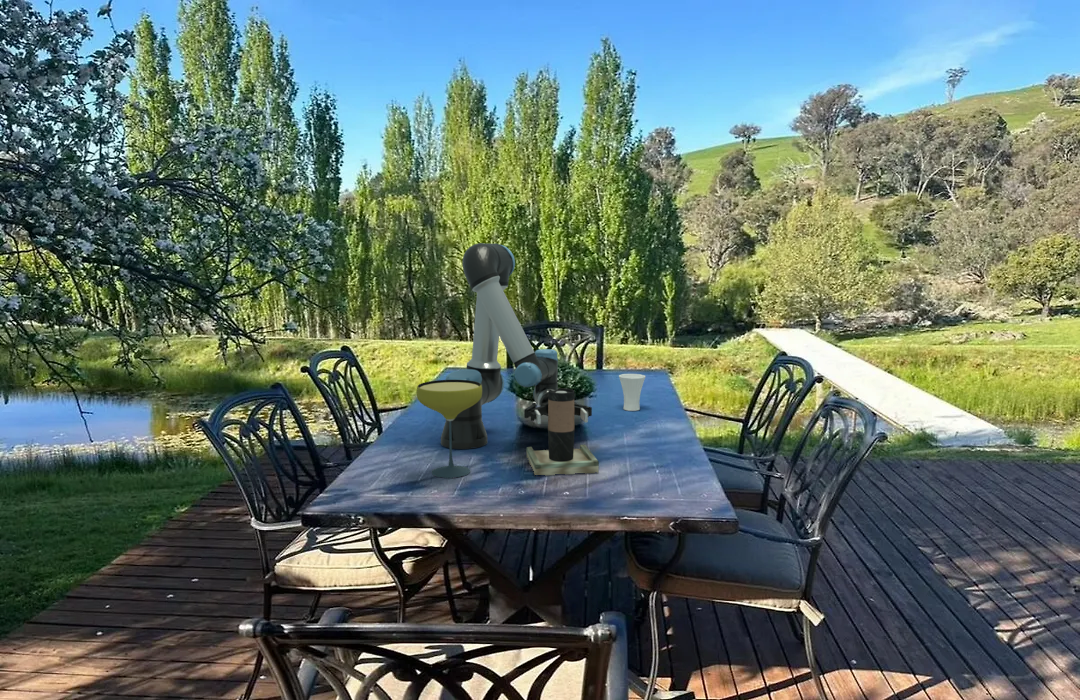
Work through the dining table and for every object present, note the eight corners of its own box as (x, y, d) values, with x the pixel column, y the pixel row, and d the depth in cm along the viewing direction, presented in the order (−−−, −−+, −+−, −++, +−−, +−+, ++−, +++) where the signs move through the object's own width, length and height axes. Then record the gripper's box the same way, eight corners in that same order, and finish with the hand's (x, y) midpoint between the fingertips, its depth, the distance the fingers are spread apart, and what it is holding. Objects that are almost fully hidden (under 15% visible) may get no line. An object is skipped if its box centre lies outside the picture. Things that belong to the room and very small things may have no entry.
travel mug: (572, 462, 196) (572, 393, 194) (545, 461, 198) (545, 392, 195) (575, 455, 204) (576, 388, 201) (550, 453, 205) (550, 387, 203)
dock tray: (535, 475, 191) (535, 464, 190) (526, 457, 208) (526, 447, 208) (598, 472, 194) (598, 461, 193) (584, 454, 211) (584, 444, 211)
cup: (617, 411, 269) (618, 377, 268) (619, 406, 280) (619, 373, 278) (644, 412, 268) (645, 378, 266) (645, 407, 278) (645, 374, 276)
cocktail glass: (487, 480, 187) (486, 389, 184) (419, 484, 184) (417, 392, 180) (479, 461, 205) (478, 378, 201) (417, 464, 201) (415, 380, 198)
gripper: (589, 413, 219) (605, 429, 198) (511, 416, 216) (519, 433, 195) (589, 390, 218) (605, 404, 197) (511, 392, 215) (519, 407, 194)
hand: (563, 418), depth 196 cm, fingers open, 13 cm apart
